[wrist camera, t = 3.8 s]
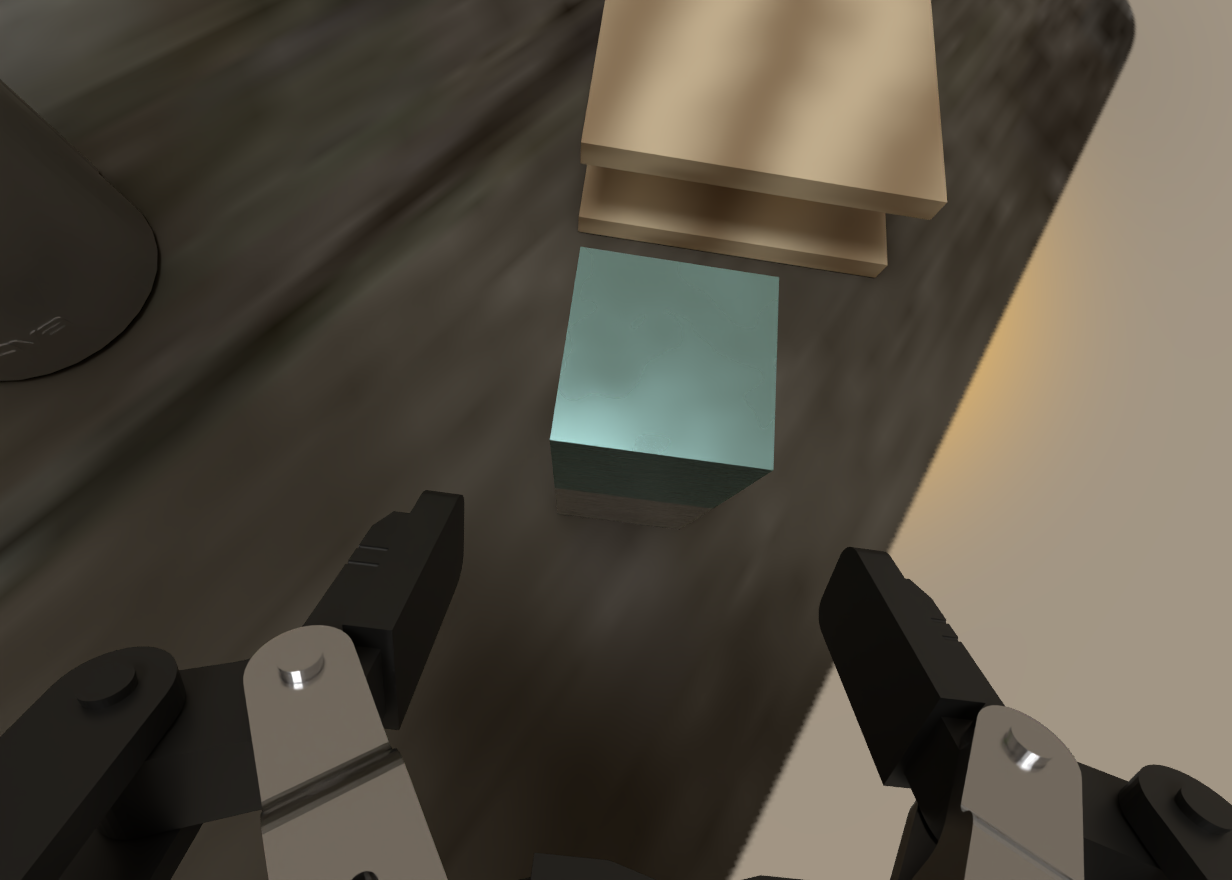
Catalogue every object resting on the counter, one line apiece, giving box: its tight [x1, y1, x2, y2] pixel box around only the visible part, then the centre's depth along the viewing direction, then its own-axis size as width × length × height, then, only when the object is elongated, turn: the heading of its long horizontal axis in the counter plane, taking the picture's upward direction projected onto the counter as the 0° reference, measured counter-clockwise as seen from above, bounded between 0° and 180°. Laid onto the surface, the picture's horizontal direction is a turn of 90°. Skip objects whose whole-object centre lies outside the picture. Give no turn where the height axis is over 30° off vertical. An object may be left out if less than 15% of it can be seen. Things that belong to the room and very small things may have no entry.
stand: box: [578, 0, 947, 278], centre depth 25 cm, size 14×14×5 cm
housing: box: [550, 247, 779, 530], centre depth 17 cm, size 5×5×10 cm
